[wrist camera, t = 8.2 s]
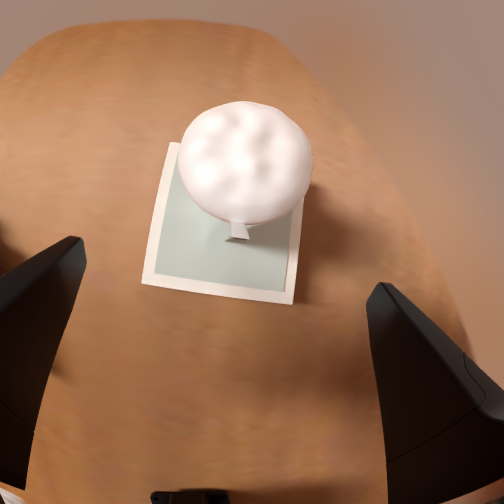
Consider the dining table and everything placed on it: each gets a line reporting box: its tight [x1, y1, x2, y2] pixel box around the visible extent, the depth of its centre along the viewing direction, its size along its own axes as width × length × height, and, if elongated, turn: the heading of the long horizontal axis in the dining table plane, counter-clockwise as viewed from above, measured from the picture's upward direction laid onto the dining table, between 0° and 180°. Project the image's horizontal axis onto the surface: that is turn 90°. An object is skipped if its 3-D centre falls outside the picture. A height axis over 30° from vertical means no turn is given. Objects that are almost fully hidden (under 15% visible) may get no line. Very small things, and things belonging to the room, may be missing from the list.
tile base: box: [142, 142, 304, 305], centre depth 19 cm, size 9×9×3 cm
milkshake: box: [178, 101, 313, 241], centre depth 12 cm, size 4×5×10 cm
